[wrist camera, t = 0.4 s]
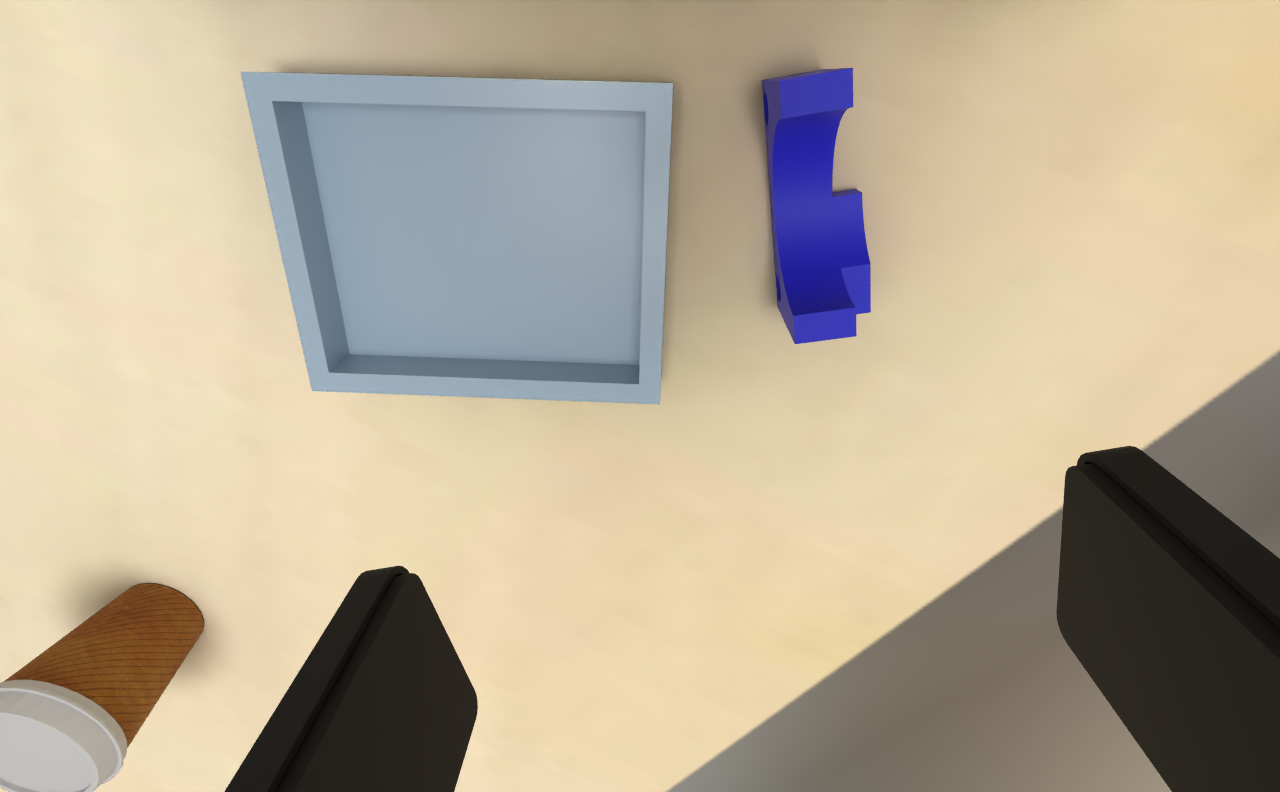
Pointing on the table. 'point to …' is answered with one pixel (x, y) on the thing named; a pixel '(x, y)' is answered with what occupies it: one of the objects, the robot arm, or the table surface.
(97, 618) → the disposable coffee cup
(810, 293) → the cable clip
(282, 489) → the table surface
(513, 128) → the tray
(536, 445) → the table surface
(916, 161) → the table surface
